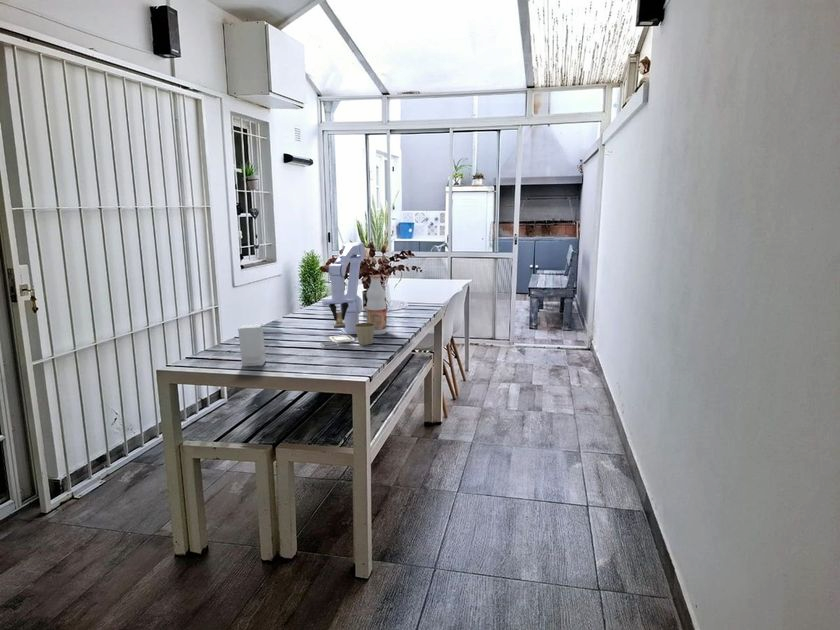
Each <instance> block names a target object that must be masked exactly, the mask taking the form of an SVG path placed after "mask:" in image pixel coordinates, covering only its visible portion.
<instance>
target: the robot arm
mask: <svg viewBox="0 0 840 630" xmlns="http://www.w3.org/2000/svg"><path fill="white" fill-rule="evenodd" d="M341 248H342V249H341V250H342V253H341V254H339V255H338V256H337V258H336V259H335V261H334V263H331V264H330V265H329V266H328V276H329V280H330V283H331V286H330V288H331V299H326V300H322V302H321V305H322V306H323V307H325V306H328V307H329V309H330V311H331V313H332V316H333V320H334V321H335V322H336V320H337V317H336V312H337V305H339V312H342V319H343V322H344V323H345V328H341V331H342V332H343V334H344V335H353V334H357V330H356V327H355V326H354V325H355V324H358V323H360V320H359V319H360V316H359V315H360V314H361V313H362V311H363V299H362V298H361V297H360V296H359V295H358V287H359V279H360V270H361V269H360V267H361V262H363V261H364V259H365V252H366V247H365V244H364V242H362V241H361V242H347V241H345V242H343V244H342V247H341ZM349 263H350V265H349ZM348 265H349V271H348V272H349V273H348V281H347V282H348V283H347V290H346V294H345V276H346V271H347V268H348Z"/></svg>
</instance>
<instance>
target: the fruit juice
mask: <svg viewBox="0 0 840 630" xmlns="http://www.w3.org/2000/svg"><path fill="white" fill-rule="evenodd" d="M369 278H370V283H369V284H370V286H369V288H368V289H367V290H366V299H367V302H366V323H374V324H376V325H375V328H374V334H373V336H376V335H377V336H378V335H385V334H386V333H387V329H388V328H387V326H388V325H387V303H386V300H385V299H386V290H385V288H383V286H382V283H381V278H382V276H381V275H380V274H372V275H370V276H369Z"/></svg>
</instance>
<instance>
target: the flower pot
mask: <svg viewBox="0 0 840 630" xmlns="http://www.w3.org/2000/svg"><path fill="white" fill-rule="evenodd" d="M375 325H376V324H374V323H367V322H359V323H358V324H355V325H354V326H355V327H356V330H357V333H356V336H357V340H358V344H359V345H362V346H368V345H372V344H373V342H374V341H373V340H374V335H373V334H374V328H375Z"/></svg>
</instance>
